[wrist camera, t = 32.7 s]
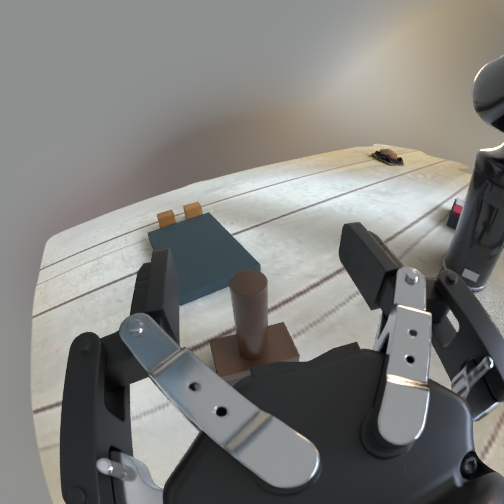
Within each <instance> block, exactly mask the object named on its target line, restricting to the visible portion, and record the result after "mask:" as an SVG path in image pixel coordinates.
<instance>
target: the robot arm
mask: <svg viewBox="0 0 504 504" xmlns="http://www.w3.org/2000/svg"><path fill="white" fill-rule="evenodd" d="M472 102H473V106H474V109H475V111H476V113H477V114H478V116H479V117H480V118H481V120H482V121H483V122H485V123H486V124H487V125H489V126H490V127H492V128H494V129H496V130H498V131H500V132H503V133H504V55H503V56H501V57H499V58H497V59H495V60H493V61H491V62H490V63H488V64H486V65H485V66H484V67H483V68H482V69H481V70H480V71H479V73H478V75H477V76H476V78H475V81H474V84H473V89H472ZM503 248H504V143H503V144H502V145H501V146H498V147H496V148H490V149H481V150H479V151H478V152H477V154H476V158H475V163H474V167H473V172H472V176H471V180H470V184H469V188H468V192H467V195H466V199H465V202H464V205H463V209H462V212H461V215H460V218H459V221H458V224H457V227H456V230H455V232H454V235H453V238H452V241H451V243H450V246H449V248H448V251H447V253H446V255H445V257H444V259H443V262H442V266H443V270H441V271H440V272H439V274H438V276H437V278H425V277H424V276H423V274H422V273H421V272H420V271H418V270H417V269H414V268H412V267H404V266H403V264H402V263H401V262H400V261H399V260H398V258H397V257H396V256H395V255H394V254H393V252H392V251H391V250H389V248H388V247H387V246H386V244H384V242H383V241H382V240H381V239H380V238H379V237H378V236H377V235H375V234H374V233H372V232H371V231H367V229H366V228H365V227H364V226H363V225H362V224H361V223H360V222H356V223H348V224H344V226H343V229H342V235H341V241H340V247H339V258H340V261H341V263H342V264H343V266H344V268H345V269H346V271H347V272H348V274H349V275H350V277H351V278H352V280H353V282H354V283H355V285H356V286H357V288H358V290H359V291H360V293H361V294H362V296H363V298H364V299H365V301H366V302H367V304H368V306H369V307H370V309H371V310H375V309H378V308H381V310H382V312H381V314H380V319H379V324H378V329H377V334H376V338H375V343H374V347H373V350H370V349H360V347H359V345H358V343H357V342H354V343H351V344H347V345H344V346H340V347H337V348H333V349H331V350H329V351H328V352H326V353H324V354H322V355H320V356H318V357H316V358H314V359H313V360H311V361H307V362H273V363H268V364H263V365H258V366H252V367H249V369H250V375H248V376H246V377H244V378H242V379H240V380H238V381H237V382H236V383H234V384H233V385H232V386H230V385H229V384H228V383H226V382H225V381H224V380H223V379H222V378H221V377H219V376H218V375H217V374H216V373H215V372H214V371H212V370H211V369H210V368H209V367H208V366H207V365H206V364H205V363H203V362H202V361H201V360H200V359H199V358H198V357H197V356H196V355H195V354H194V353H192V352H191V351H190V350H189V349H188V348H186V347H184V348H181V347H180V343H179V291H180V287H179V278H178V274H177V270H176V267H175V263H174V260H173V256H172V252H171V250H170V248H166V249H159V250H154V251H153V253H152V259H151V262H150V263H144V264H143V265H142V266H141V268H140V269H139V271H138V273H137V278H136V283H135V290H134V293H133V299H132V305H131V311H130V316H129V317H127V318H126V319H125V320H124V321H123V322H122V323H121V325H120V328H119V331H117V332H115V333H113V334H110V335H108V336H105V337H103V338H99V337H98V336H97V335H96V334H95V333H93V332H85V333H82V334H80V335H79V336H77V337H76V338H75V339H74V340H73V342H72V344H71V346H70V351H69V357H68V362H67V369H66V375H65V383H64V391H63V400H62V411H61V426H60V476H61V490H62V496H63V499H64V501H65V503H66V504H504V477H503V476H502V475H500V474H499V473H497V472H496V471H494V470H492V469H491V468H489V467H488V466H487V465H485V464H484V463H483V462H482V461H481V460H480V459H479V458H478V456H477V454H476V452H475V448H474V441H473V422H474V421H479V420H481V419H482V418H483V417H485V416H486V415H488V414H489V413H491V412H492V411H493V410H495V409H496V408H497V407H499V406H500V405H501V404H503V403H504V338H503V336H502V335H501V333H500V331H499V330H498V328H497V327H496V325H495V324H494V322H493V321H492V319H491V318H490V316H489V315H488V313H487V312H486V310H485V309H484V308H483V306H482V305H481V303H480V302H479V301H478V299H477V298H476V297H475V295H474V294H473V293H472V292H477V291H481V290H482V289H483V288H484V287H485V285H486V283H487V280H488V278H489V277H490V275H491V273H492V271H493V269H494V267H495V265H496V263H497V261H498V259H499V257H500V255H501V253H502V250H503ZM449 310H451V311H452V313H453V314H454V316H455V317H456V319H457V320H458V322H459V331H458V333H457V332H456V330H455V329H454V327H453V325H452V324H451V322H450V321H449V319H448V318H447V316H446V315H447V313H448V312H449ZM431 343H432V345H433V347H434V349H435V351H436V352H437V354H438V356H439V358H440V360H441V362H442V364H443V366H444V368H445V370H446V372H447V374H448V376H449V378H450V380H451V382H452V384H451V387H452V390H449V389H448V388H446V387H444V386H442V385H440V384H438V383H437V382H435V381H433V380H431V379H429V378H428V377H429V367H430V354H431ZM147 377H149V378H150V379H151V380H152V382H153V383H154V384H155V385H156V386H157V388H158V389H159V390H160V391H161V392H162V393H163V394H164V395H165V397H166V398H167V399H168V400H169V401H170V402H171V403H172V404H173V405H174V406H175V408H176V409H177V410H178V411H179V412H180V413H181V414H182V415H183V416H184V417H185V418H186V419H187V420H188V421H189V422H190V423H191V424H192V425H193V426H194V427H195V428H196V429H197V430H198V431H199V434H198V435H197V437H196V438H195V440H194V441H193V443H192V444H191V446H190V447H189V449H188V450H187V452H186V453H185V455H184V456H183V458H182V459H181V461H180V462H179V464H178V465H177V466H176V468H175V469H174V471H173V472H172V474H171V475H170V477H169V478H168V480H167V481H166V483H165V486H164V489H162V488H160V487H159V486H157V485H156V484H155V483H154V481H153V480H152V478H151V476H150V472H149V470H148V468H147V467H146V465H145V464H144V463H143V462H141V461H140V460H138V459H136V458H134V457H133V448H132V436H131V419H130V384H131V383H134V382H137V381H139V380H142V379H145V378H147Z"/></svg>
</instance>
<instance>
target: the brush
mask: <svg viewBox="0 0 504 504" xmlns="http://www.w3.org/2000/svg"><path fill="white" fill-rule="evenodd" d="M229 285H230V292H231V299H232V306H233V313H234V320H235V327H236V334H235V335H231V336H226V337H222V338H218V339H213V340H209V342H210V346H211V351H212V355H213V359H214V363H215V367H216V371H217V375H218V376H219V377H221V378H222V379H223V380H224V381H225V382H226V383H228V384H229V385H230V386H232V385H233V384H234V383H236V382H237V381H238V380H240V379H242V378H244V377H246V376H248V375H250V369H249V367H252V366H258V365H263V364H268V363H273V362H298V361H299V356H300V355H299V353H298V351H297V349H296V346H295V344H294V342H293V340H292V338H291V336H290V334H289V332H288V330H287V328H286V326H285V324H284V322H282V323H278V324H274V325H270V326H268V291H267V278H266V277H265V275H264V274H262V273H261V272H259V271H256V270H243V271H240V272H237V273H236V274H234V275H233V276H232V278H231V279H230V283H229Z"/></svg>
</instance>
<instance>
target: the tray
mask: <svg viewBox="0 0 504 504" xmlns="http://www.w3.org/2000/svg"><path fill="white" fill-rule="evenodd" d="M148 237H149V240H150V242H151V245H152V247H153V249H154V250H159V249H166V248H170V250H171V252H172V256H173V260H174V263H175V267H176V270H177V274H178V278H179V287H180V291H179V304H180V305H183V304H186V303H188V302H191V301H193V300H196V299H198V298H200V297H203V296H205V295H208V294H210V293H213V292H215V291H217V290H220V289H222V288H225V287H227V286H229V283H230V279H231V278H232V276H233V275H234V274H236V273H237V272H240V271H243V270H256V271H259V272H260V264H259V263H258V262H257V261H256V260H255V259H254V258H253V257H252V256H251V255H250V254H249V253H248V252H247V251H246V250H245V249H244V248H243V246H242V245H241V244H240V243H239V242H238V241H237V240H236V239H235V238H234V237H233V236H232V235H231V234H230V233H229V232H228V231H227V230H226V229H225V228H224V227H223V226H222V225H221V224H220V223H219V222H218V221H217V220H216V219H215V218H214V217H213V216H212V215H211V214H210V213H205V214H202V215H199V216H196V217H193V218H190V219H187V220H184V221H181V222H178V223H175V224H172V225H169V226H166V227H163V228H160V229H157V230H155V231H152V232H149V233H148Z"/></svg>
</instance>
